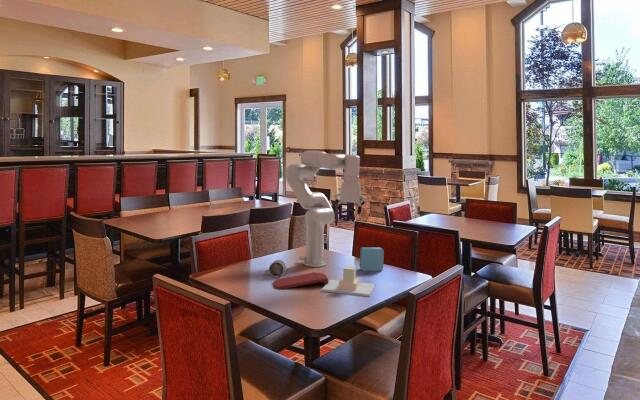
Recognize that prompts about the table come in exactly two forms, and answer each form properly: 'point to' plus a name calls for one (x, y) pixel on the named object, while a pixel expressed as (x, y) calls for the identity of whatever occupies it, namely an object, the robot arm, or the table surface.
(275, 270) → the ceramic mug
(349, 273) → the cream block
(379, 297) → the table surface
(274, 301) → the table surface
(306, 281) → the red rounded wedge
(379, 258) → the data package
